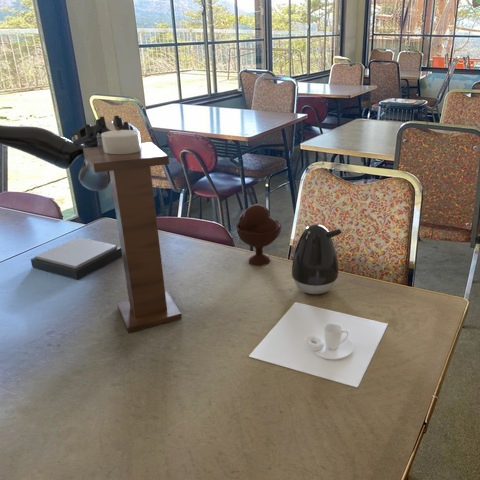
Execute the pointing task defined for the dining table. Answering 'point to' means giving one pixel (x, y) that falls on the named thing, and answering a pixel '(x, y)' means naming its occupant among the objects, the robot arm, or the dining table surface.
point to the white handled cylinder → (120, 140)
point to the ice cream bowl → (258, 231)
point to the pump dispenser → (315, 260)
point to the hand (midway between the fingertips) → (110, 121)
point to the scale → (76, 257)
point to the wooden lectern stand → (137, 234)
